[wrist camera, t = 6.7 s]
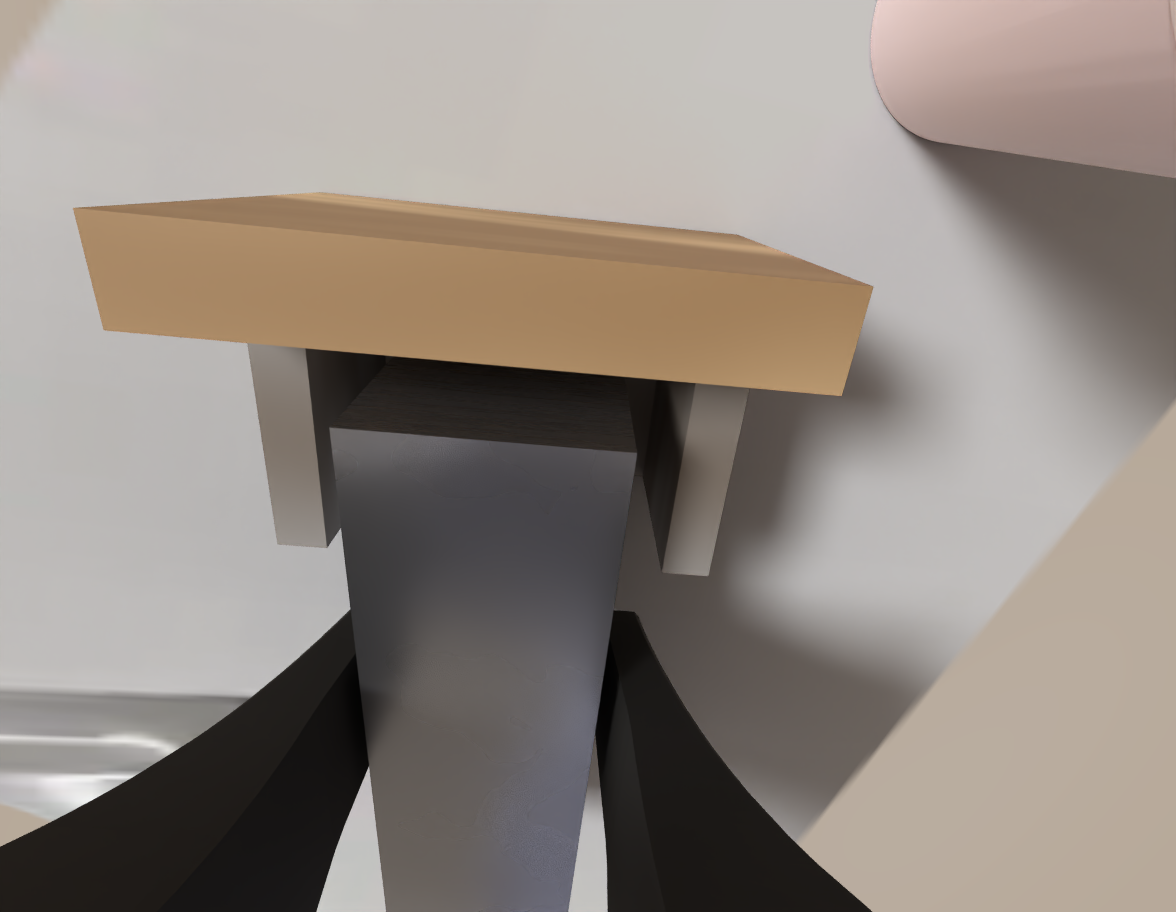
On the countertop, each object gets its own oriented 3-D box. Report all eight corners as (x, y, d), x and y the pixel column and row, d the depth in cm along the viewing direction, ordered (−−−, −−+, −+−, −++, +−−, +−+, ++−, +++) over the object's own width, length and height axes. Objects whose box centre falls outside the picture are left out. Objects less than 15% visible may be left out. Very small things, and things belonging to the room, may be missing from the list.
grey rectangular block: (426, 319, 12) (328, 427, 7) (618, 337, 12) (637, 452, 7) (439, 728, 17) (388, 930, 13) (569, 736, 17) (564, 937, 13)
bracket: (692, 472, 14) (763, 664, 8) (341, 443, 13) (178, 625, 8) (737, 235, 12) (873, 287, 6) (320, 192, 11) (73, 208, 6)
